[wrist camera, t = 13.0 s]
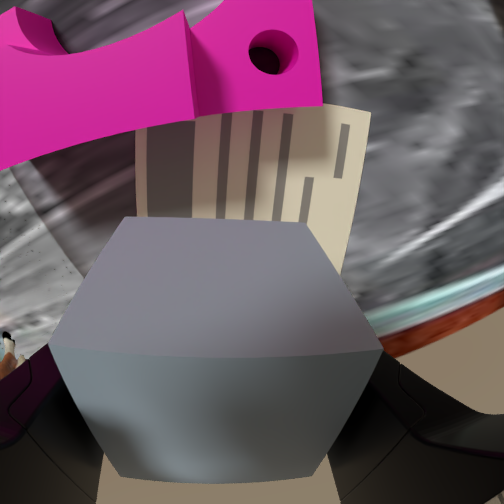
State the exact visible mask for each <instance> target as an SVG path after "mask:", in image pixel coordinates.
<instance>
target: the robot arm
mask: <svg viewBox="0 0 504 504" xmlns="http://www.w3.org/2000/svg"><path fill="white" fill-rule="evenodd" d="M48 343H49V342H48ZM48 343H47V344H46V345H45V346H43V347H42V348H41V349H39V350H38V351H37V352H36V353H34V354H33V355H32V356H31V357H30V358H29V359H27V360H26V361H24V362H23V363H22V364H21V365H19V366H18V367H17V368H15V369H14V370H13V371H12V372H10V373H9V374H8V375H6V376H5V377H4V378H2V379H1V380H0V504H96V503H95V502H96V499H97V492H98V485H99V478H100V472H101V466H102V460H103V455H104V451H103V450H102V448H101V447H100V445H99V444H98V442H97V440H96V439H95V437H94V435H93V434H92V432H91V430H90V429H89V427H88V425H87V424H86V422H85V420H84V418H83V416H82V415H81V413H80V411H79V409H78V407H77V405H76V403H75V402H74V400H73V398H72V396H71V394H70V392H69V390H68V388H67V386H66V384H65V382H64V379H63V377H62V375H61V373H60V371H59V369H58V366H57V364H56V362H55V360H54V357H53V355H52V353H51V350H50V348H49V345H48ZM327 455H328V459H329V462H330V466H331V469H332V473H333V477H334V480H335V484H336V487H337V491H338V495H339V498H340V501H341V504H504V414H499V415H498V414H497V415H491V414H484V413H480V412H477V411H475V410H473V409H471V408H469V407H467V406H466V405H464V404H463V403H461V402H459V401H458V400H456V399H454V398H453V397H451V396H449V395H448V394H446V393H444V392H443V391H441V390H439V389H438V388H436V387H434V386H433V385H431V384H430V383H428V382H427V381H425V380H424V379H422V378H421V377H419V376H418V375H416V374H415V373H414V372H412V371H411V370H409V369H408V368H407V367H405V366H404V365H402V364H400V362H398V361H397V360H396V359H394V358H393V357H392V356H390V355H389V354H388V353H386V352H385V351H384V350H383V352H382V354H381V356H380V358H379V360H378V362H377V364H376V366H375V369H374V371H373V373H372V375H371V377H370V379H369V381H368V383H367V385H366V386H365V388H364V390H363V392H362V394H361V396H360V398H359V400H358V402H357V403H356V405H355V407H354V409H353V411H352V412H351V414H350V416H349V418H348V419H347V421H346V423H345V425H344V426H343V428H342V430H341V431H340V433H339V435H338V436H337V438H336V440H335V441H334V443H333V445H332V446H331V448H330V449H329V451H328V452H327Z"/></svg>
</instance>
